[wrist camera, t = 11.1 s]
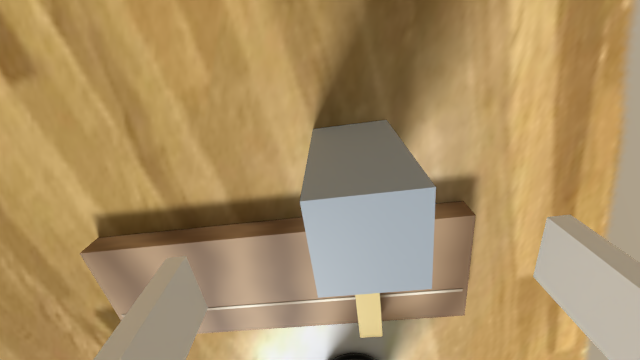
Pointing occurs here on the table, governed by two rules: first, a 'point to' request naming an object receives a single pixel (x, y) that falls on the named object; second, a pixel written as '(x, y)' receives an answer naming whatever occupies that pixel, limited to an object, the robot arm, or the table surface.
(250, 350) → the table surface
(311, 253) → the mallet
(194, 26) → the table surface
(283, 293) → the board
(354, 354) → the supplement container
